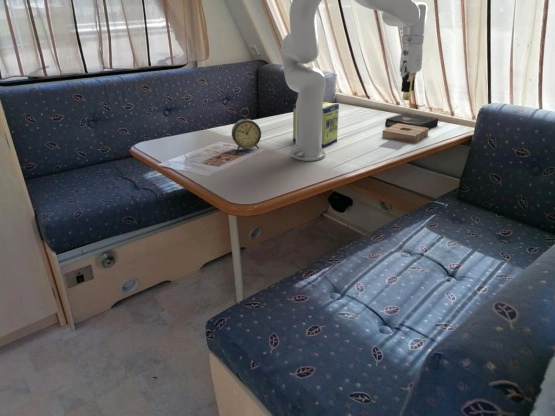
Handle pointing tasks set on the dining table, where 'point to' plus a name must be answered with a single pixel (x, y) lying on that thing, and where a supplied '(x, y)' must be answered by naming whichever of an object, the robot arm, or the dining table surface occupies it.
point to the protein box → (324, 123)
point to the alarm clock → (246, 133)
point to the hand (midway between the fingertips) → (407, 90)
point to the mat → (393, 144)
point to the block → (405, 133)
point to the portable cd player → (412, 120)
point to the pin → (408, 94)
